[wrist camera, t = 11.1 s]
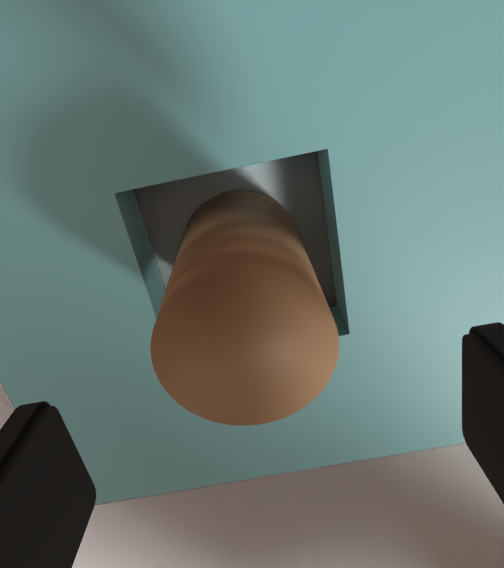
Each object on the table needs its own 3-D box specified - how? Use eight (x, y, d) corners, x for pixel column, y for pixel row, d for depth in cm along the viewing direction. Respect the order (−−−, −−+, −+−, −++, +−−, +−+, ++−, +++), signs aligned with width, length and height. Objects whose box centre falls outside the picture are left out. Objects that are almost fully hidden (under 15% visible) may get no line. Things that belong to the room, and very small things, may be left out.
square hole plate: (515, -149, 13) (572, -196, 11) (489, 399, 23) (517, 434, 20) (-144, 9, 15) (-214, -4, 12) (87, 468, 24) (71, 509, 22)
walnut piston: (289, 179, 18) (327, 249, 10) (306, 287, 20) (348, 408, 12) (169, 203, 18) (124, 289, 11) (199, 308, 20) (179, 438, 13)
